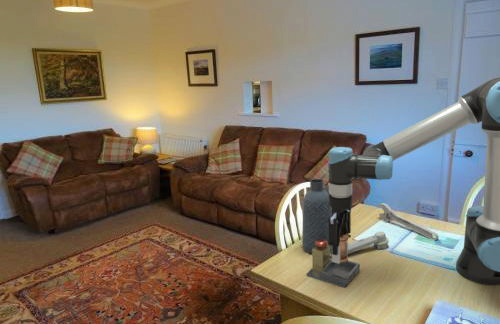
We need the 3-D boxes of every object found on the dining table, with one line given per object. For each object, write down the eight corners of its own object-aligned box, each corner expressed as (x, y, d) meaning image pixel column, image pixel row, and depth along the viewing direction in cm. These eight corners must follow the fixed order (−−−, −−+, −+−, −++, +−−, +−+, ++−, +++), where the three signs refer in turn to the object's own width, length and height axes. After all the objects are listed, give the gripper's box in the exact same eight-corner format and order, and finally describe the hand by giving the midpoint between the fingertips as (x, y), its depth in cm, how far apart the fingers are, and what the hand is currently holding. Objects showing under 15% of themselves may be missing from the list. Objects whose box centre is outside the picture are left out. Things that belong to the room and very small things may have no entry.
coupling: (350, 257, 125) (350, 233, 123) (344, 264, 121) (344, 240, 119) (335, 253, 129) (335, 230, 127) (328, 260, 124) (328, 236, 122)
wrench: (434, 247, 148) (375, 217, 172) (436, 246, 149) (378, 216, 173) (437, 230, 145) (377, 201, 169) (440, 228, 146) (380, 201, 170)
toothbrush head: (328, 246, 139) (381, 226, 146) (330, 261, 141) (383, 240, 148) (336, 252, 134) (390, 231, 141) (338, 268, 136) (392, 246, 143)
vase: (339, 251, 143) (339, 182, 136) (312, 258, 139) (311, 187, 132) (322, 238, 154) (321, 174, 147) (297, 245, 150) (295, 179, 143)
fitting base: (360, 270, 128) (360, 242, 126) (345, 288, 118) (345, 258, 116) (323, 259, 137) (322, 233, 134) (306, 275, 127) (306, 247, 124)
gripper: (340, 185, 129) (340, 245, 134) (317, 201, 114) (317, 267, 120) (361, 188, 124) (360, 250, 130) (339, 205, 110) (339, 273, 115)
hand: (339, 258), depth 125 cm, fingers closed on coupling, 6 cm apart
